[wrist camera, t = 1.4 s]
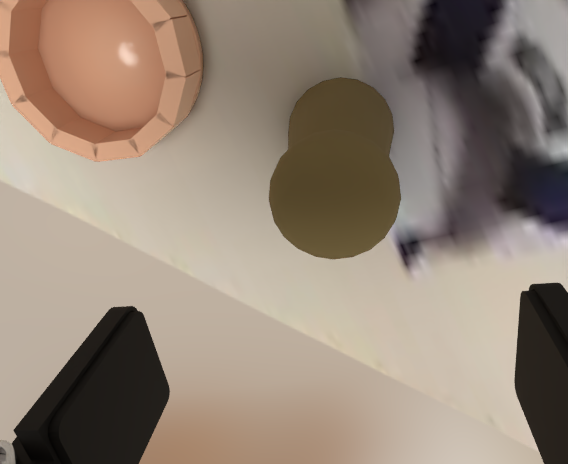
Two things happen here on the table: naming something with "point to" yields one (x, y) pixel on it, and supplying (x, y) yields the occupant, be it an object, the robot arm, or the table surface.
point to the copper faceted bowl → (100, 71)
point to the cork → (337, 171)
